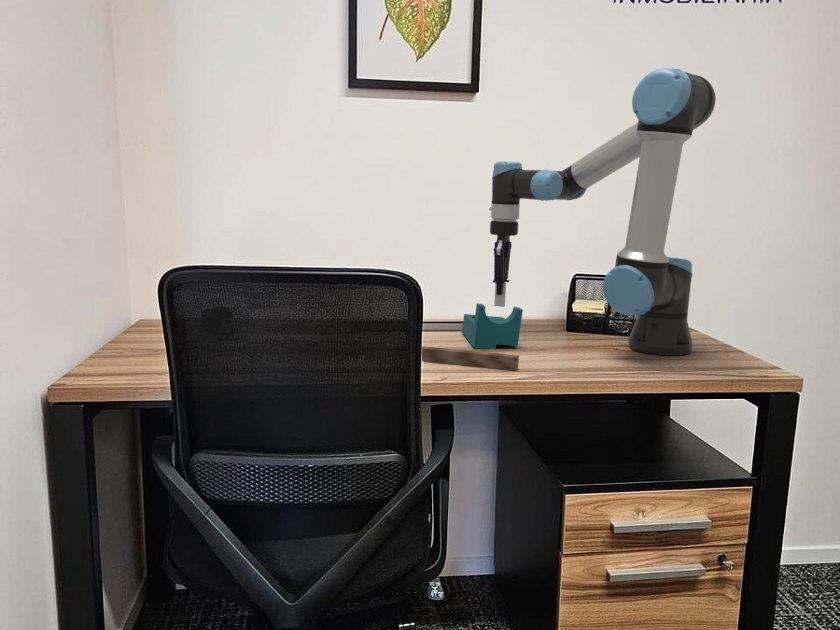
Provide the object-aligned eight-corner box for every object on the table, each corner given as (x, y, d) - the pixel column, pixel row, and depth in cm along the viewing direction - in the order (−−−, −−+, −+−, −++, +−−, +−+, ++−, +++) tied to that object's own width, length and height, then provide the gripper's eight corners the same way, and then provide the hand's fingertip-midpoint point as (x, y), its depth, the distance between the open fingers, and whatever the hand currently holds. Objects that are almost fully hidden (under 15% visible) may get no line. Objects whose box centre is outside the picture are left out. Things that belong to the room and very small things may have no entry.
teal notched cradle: (516, 351, 170) (522, 310, 168) (473, 347, 169) (479, 305, 167) (501, 335, 187) (506, 297, 186) (461, 332, 186) (466, 294, 184)
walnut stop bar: (518, 368, 152) (518, 355, 151) (516, 370, 150) (517, 357, 149) (422, 359, 158) (422, 346, 157) (419, 361, 156) (420, 348, 156)
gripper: (495, 218, 194) (491, 301, 198) (485, 220, 181) (481, 308, 186) (522, 219, 191) (517, 303, 196) (513, 222, 179) (508, 311, 184)
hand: (499, 305), depth 191 cm, fingers closed
